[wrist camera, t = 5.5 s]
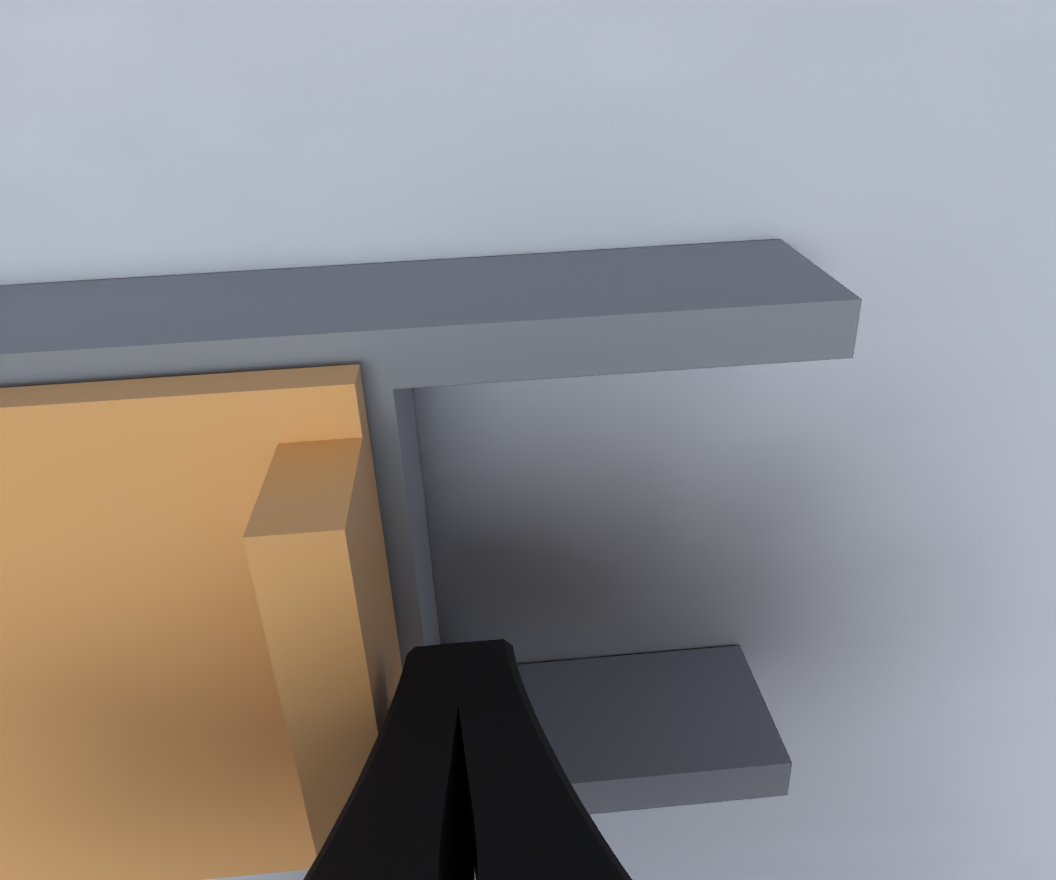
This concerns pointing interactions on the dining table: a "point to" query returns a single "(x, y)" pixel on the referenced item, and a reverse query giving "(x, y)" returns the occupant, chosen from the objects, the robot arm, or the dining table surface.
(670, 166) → the dining table surface
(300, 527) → the lid
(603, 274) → the housing
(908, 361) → the dining table surface
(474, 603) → the dining table surface
